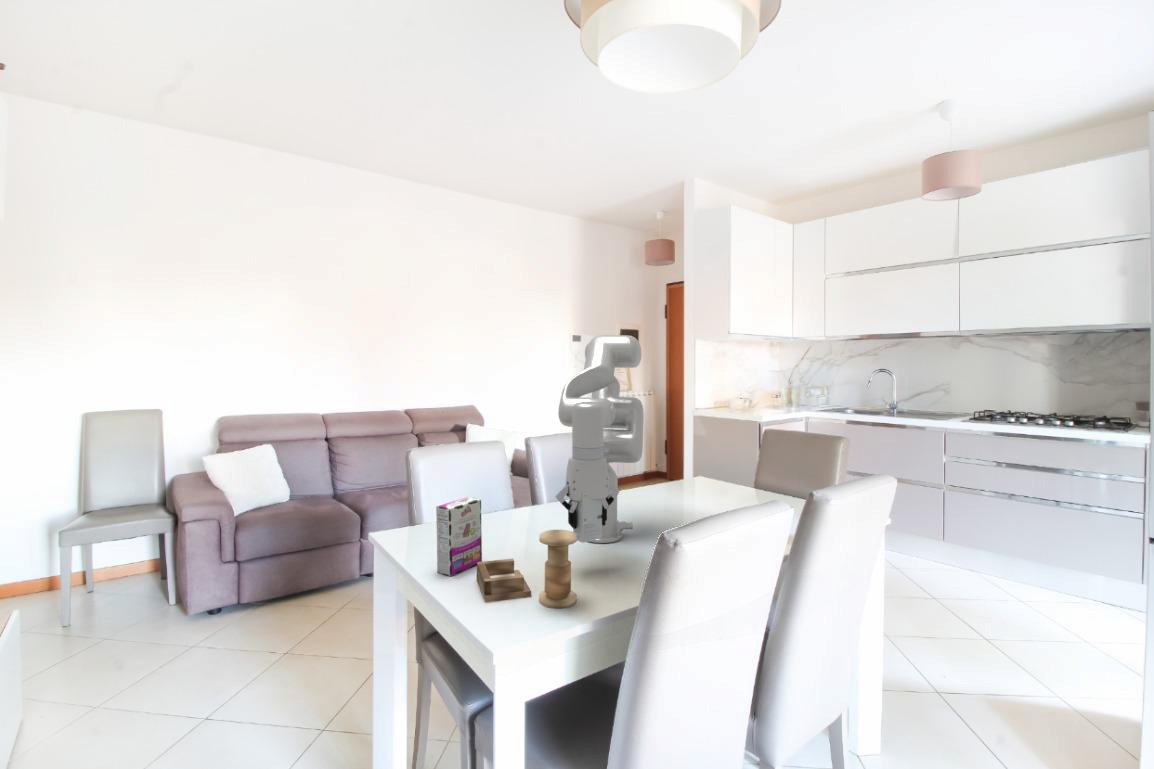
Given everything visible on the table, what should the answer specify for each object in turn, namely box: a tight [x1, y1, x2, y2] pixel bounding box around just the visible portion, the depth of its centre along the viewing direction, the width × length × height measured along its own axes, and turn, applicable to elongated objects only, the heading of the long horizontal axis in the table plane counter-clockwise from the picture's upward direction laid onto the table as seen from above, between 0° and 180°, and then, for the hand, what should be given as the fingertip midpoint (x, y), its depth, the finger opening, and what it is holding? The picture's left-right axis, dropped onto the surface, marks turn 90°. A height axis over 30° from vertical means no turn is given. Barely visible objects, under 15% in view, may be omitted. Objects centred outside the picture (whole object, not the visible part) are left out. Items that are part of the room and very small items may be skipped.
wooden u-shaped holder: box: [476, 558, 532, 603], centre depth 124 cm, size 10×13×4 cm
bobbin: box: [538, 529, 578, 609], centre depth 118 cm, size 8×8×14 cm
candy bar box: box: [435, 496, 483, 577], centre depth 136 cm, size 11×5×16 cm, turn 148°
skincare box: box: [572, 493, 602, 544], centre depth 134 cm, size 6×4×12 cm
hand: (587, 524), depth 134 cm, fingers closed on skincare box, 6 cm apart
